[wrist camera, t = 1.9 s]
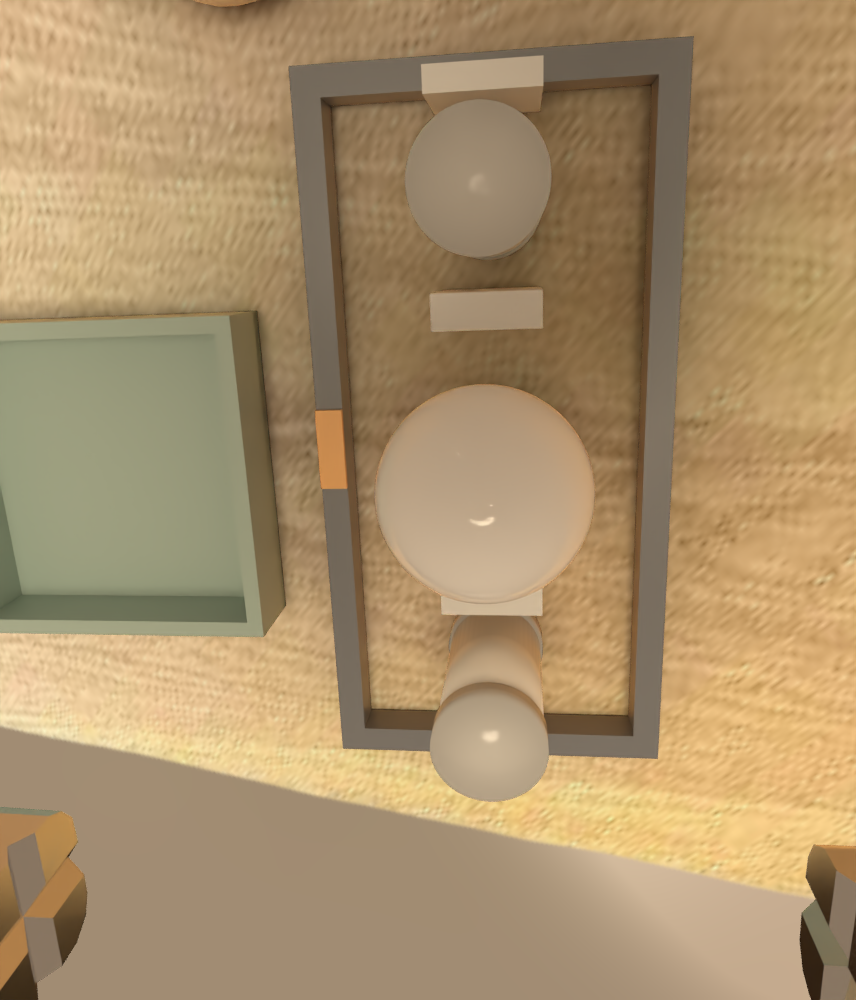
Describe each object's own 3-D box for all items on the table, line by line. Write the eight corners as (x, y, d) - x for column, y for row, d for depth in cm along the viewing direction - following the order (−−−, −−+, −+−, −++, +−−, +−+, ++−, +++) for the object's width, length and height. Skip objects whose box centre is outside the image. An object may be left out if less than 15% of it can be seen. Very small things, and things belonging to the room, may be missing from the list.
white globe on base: (433, 149, 28) (401, 104, 20) (543, 143, 27) (551, 94, 20) (437, 262, 29) (408, 259, 21) (542, 257, 28) (551, 253, 21)
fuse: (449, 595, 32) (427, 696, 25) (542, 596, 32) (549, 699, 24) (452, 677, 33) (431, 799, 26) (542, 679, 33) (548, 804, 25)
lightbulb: (610, 449, 30) (658, 547, 19) (482, 547, 32) (463, 685, 21) (503, 319, 29) (494, 349, 18) (378, 427, 31) (304, 511, 20)
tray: (-38, 321, 31) (-94, 326, 28) (256, 310, 30) (229, 315, 27) (18, 602, 35) (-27, 632, 32) (285, 605, 33) (263, 637, 30)
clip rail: (300, 76, 27) (265, 45, 24) (683, 49, 26) (712, 10, 22) (350, 728, 35) (329, 785, 31) (651, 737, 33) (668, 798, 29)
